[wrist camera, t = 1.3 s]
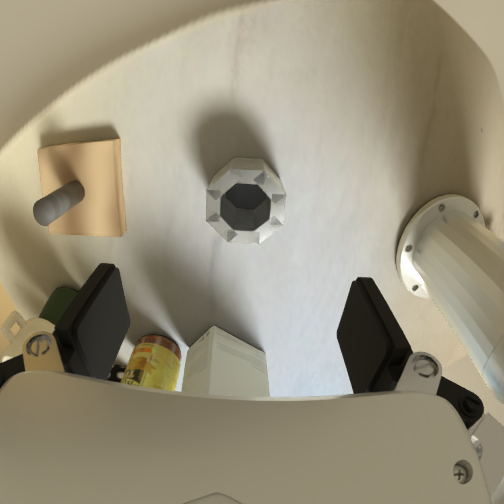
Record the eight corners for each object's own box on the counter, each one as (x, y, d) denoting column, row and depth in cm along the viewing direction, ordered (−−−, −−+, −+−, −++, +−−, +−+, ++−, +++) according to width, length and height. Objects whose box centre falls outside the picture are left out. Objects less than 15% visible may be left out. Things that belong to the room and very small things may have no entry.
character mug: (35, 277, 30) (-20, 343, 18) (66, 260, 29) (3, 335, 17) (82, 339, 35) (45, 411, 23) (116, 330, 33) (79, 413, 22)
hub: (282, 160, 24) (288, 172, 20) (275, 221, 26) (280, 245, 22) (214, 156, 24) (206, 167, 19) (213, 217, 26) (205, 241, 22)
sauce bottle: (149, 323, 33) (98, 478, 15) (192, 349, 34) (166, 502, 17) (128, 349, 35) (82, 482, 17) (167, 371, 37) (138, 504, 19)
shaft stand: (120, 138, 23) (79, 152, 16) (126, 230, 27) (95, 267, 21) (45, 146, 22) (0, 163, 16) (57, 227, 27) (20, 259, 20)
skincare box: (187, 347, 34) (166, 455, 21) (215, 320, 32) (199, 440, 19) (240, 375, 37) (237, 476, 24) (271, 352, 35) (277, 463, 22)
